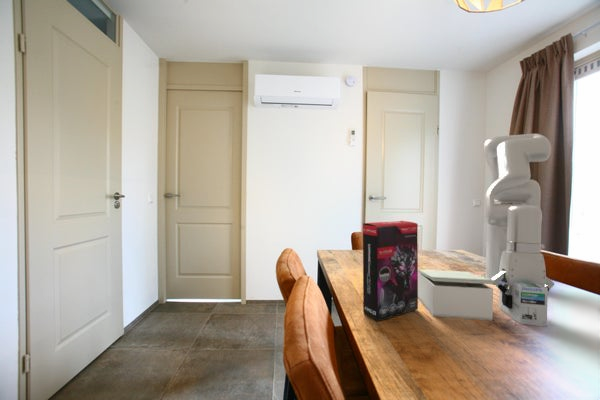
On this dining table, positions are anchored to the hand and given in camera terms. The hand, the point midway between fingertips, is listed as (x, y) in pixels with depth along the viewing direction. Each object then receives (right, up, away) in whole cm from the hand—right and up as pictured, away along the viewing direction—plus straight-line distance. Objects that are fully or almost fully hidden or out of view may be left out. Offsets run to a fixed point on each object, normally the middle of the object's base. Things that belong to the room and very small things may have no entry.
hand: (521, 307), depth 75 cm
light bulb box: (0, -3, 0) cm, 3 cm away
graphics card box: (-38, -3, +2) cm, 38 cm away
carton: (-17, -3, +5) cm, 18 cm away
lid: (-17, +7, +5) cm, 20 cm away
